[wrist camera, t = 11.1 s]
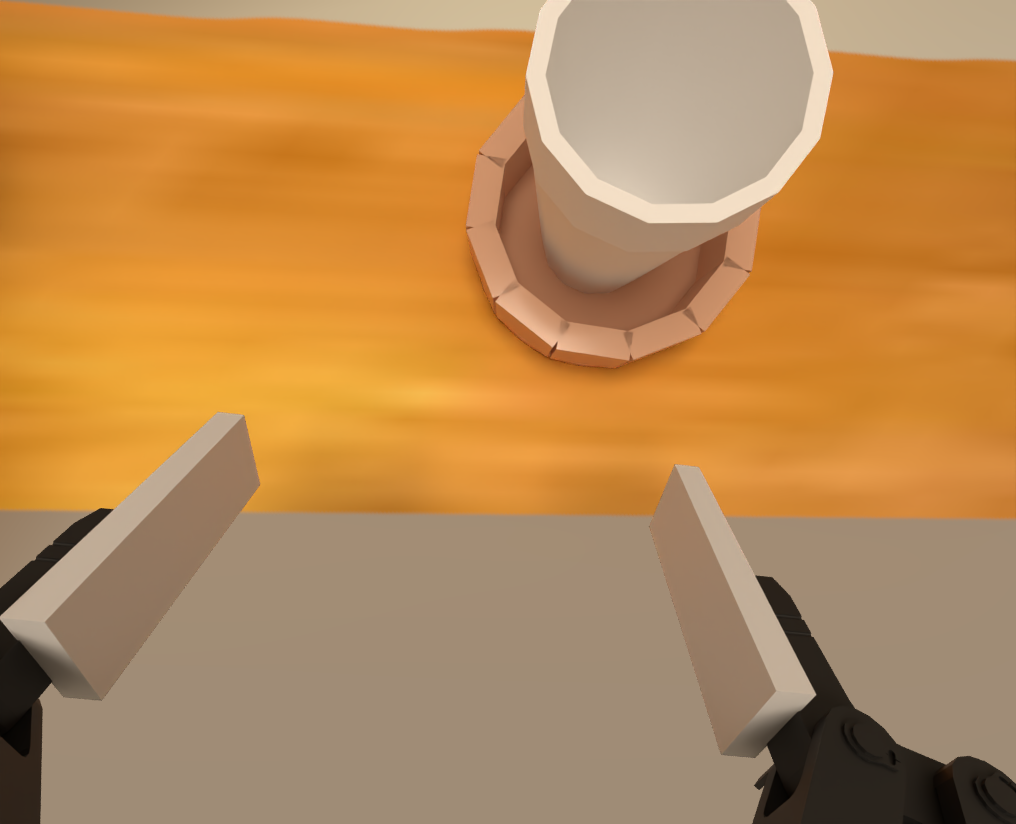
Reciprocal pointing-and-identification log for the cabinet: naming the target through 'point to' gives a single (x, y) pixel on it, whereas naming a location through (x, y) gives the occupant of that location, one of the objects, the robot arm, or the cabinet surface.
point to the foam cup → (665, 124)
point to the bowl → (566, 311)
